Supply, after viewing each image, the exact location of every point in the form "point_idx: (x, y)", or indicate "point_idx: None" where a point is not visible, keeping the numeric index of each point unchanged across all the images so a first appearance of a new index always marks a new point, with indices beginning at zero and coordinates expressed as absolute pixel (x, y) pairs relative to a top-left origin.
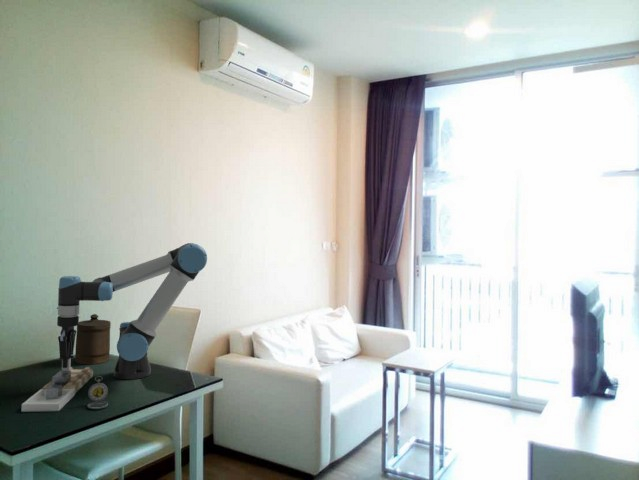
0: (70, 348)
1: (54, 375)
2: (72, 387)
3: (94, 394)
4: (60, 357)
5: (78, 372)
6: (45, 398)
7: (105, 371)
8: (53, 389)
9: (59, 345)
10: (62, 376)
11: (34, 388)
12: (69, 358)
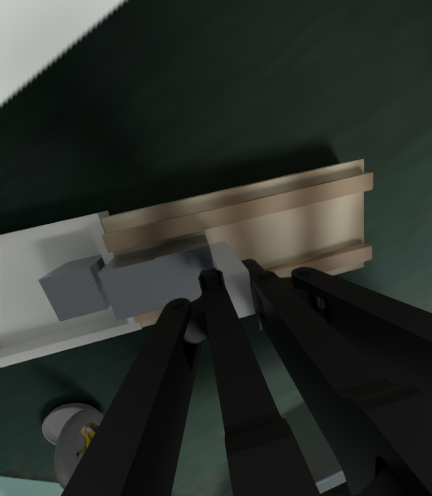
0: (287, 367)
1: (123, 267)
2: (141, 323)
3: (79, 433)
4: (164, 314)
5: (320, 239)
6: (72, 255)
7: (393, 268)
8: (55, 302)
9: (85, 459)
10: (120, 312)
11: (181, 129)
12: (248, 309)
